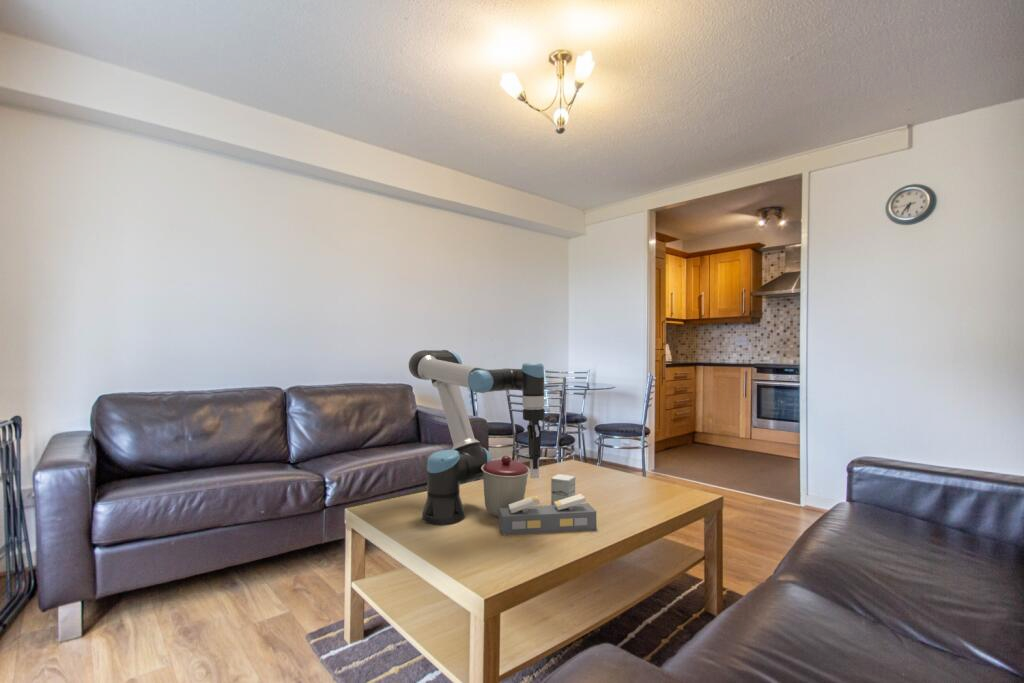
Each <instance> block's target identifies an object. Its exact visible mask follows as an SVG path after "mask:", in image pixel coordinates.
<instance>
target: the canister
mask: <svg viewBox="0 0 1024 683" xmlns="http://www.w3.org/2000/svg"><path fill="white" fill-rule="evenodd" d="M481 470H482V471H483V478H482V481H483V496H484V506H485V509H486V511H487V512H488V513H489V514H490V515H492V516H494V517H498V518H499V508H508V507H509V504H512V503H515V502H518V501H521V500H523V499H525V495H526V487H527V483H528V476H529V474H530V467H529V466H527V465H526V464H525V463H522V462H520V461H517V460H513V459H511V457H510V456H509V455H503V456H502V457H501V459H494V460H491V461H490V462H487V463H486V464H484V465H483V466H482V467H481Z"/></svg>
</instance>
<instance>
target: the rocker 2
mask: <svg viewBox="0 0 1024 683" xmlns="http://www.w3.org/2000/svg"><path fill="white" fill-rule="evenodd" d="M586 502H587V500H586V497H585V496H584V495H583V494H582V493H578V494H575V495H574V496H571V497H568V498H565V499H561V500H558V501H555V502H554V504H555V507H556V508H557V509H558V510H561V509H564V508H568V507H571V506H574V505H577V504H584V503H586Z"/></svg>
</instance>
